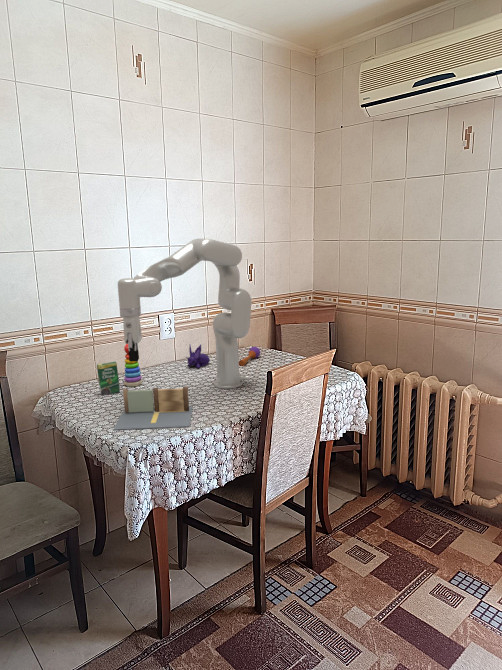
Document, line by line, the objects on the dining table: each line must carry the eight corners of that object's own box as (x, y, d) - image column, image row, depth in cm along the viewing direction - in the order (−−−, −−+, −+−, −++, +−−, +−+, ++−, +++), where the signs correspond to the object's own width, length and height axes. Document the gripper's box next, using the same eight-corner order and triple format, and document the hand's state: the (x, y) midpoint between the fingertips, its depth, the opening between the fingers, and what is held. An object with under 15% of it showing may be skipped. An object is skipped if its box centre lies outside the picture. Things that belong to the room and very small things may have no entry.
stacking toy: (146, 382, 222) (143, 341, 218) (136, 387, 214) (133, 345, 210) (130, 380, 224) (127, 340, 220) (120, 386, 217) (117, 344, 213)
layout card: (192, 407, 190) (192, 406, 189) (189, 426, 171) (189, 425, 171) (124, 410, 188) (124, 409, 188) (113, 430, 170) (113, 429, 170)
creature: (178, 369, 240) (176, 345, 237) (202, 360, 255) (200, 337, 252) (192, 372, 235) (191, 347, 233) (215, 363, 250) (214, 339, 247)
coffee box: (100, 395, 205) (97, 365, 203) (99, 393, 208) (96, 363, 205) (120, 392, 209) (117, 362, 206) (119, 390, 211) (116, 361, 208)
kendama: (234, 358, 243) (250, 345, 261) (237, 369, 245) (252, 356, 262) (245, 357, 241) (260, 344, 258) (248, 368, 242) (263, 355, 260)
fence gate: (154, 409, 186) (152, 387, 184) (153, 411, 184) (151, 389, 182) (125, 410, 185) (123, 389, 183) (124, 412, 183) (122, 390, 182)
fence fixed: (189, 409, 186) (187, 386, 184) (188, 411, 185) (187, 387, 183) (155, 410, 186) (153, 387, 184) (154, 412, 184) (152, 389, 182)
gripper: (137, 315, 175) (141, 365, 179) (144, 308, 190) (147, 354, 194) (115, 316, 174) (120, 366, 178) (124, 309, 189) (128, 355, 193)
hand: (134, 360), depth 186 cm, fingers closed
